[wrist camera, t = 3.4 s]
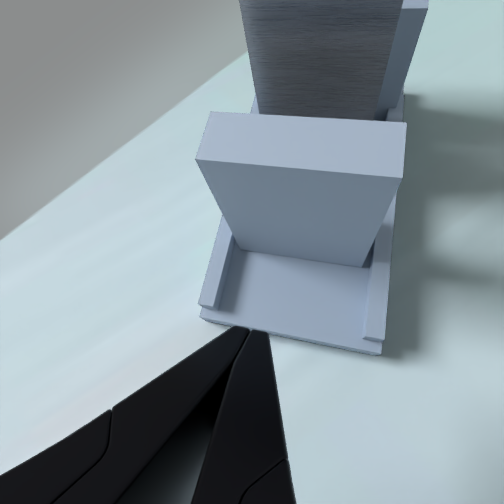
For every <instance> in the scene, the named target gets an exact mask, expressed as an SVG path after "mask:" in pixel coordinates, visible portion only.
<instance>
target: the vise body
mask: <svg viewBox="0 0 504 504" xmlns="http://www.w3.org/2000/svg"><path fill="white" fill-rule="evenodd" d="M428 1H429V0H403V4H402V8H401V12H400V16H399V20H398V24H397V28H396V32H395V36H394V40H393V44H392V48H391V52H390V56H389V60H388V64H387V68H386V72H385V76H384V80H383V84H382V88H381V92H380V96H379V100H378V104H377V108H376V112H375V116H374V120H373V121H388V122H402V120H403V108H404V96H405V95H403V89H404V82H405V79H406V76H407V72H408V69H409V66H410V63H411V60H412V57H413V54H414V51H415V47H416V44H417V41H418V38H419V35H420V32H421V29H422V26H423V23H424V19H425V16H426V13H427V10H428ZM250 114H259V109H258V103H257V98H256V94H255V98H254V101H253V105H252V109H251V112H250ZM396 194H397V191H396ZM396 194H395V196H394V198H393V200H392V202H391V204H390V207H389V209H388V211H387V213H386V215H385V217H384V220H383V222H382V224H381V226H380V228H379V230H378V233H377V235H376V237H375V239H374V241H373V243H372V246H371V248H370V250H369V252H368V254H367V256H366V259H365V261H364V263H363V265H362V267H361V268H360V267H353V266H346V265H340V264H333V263H326V262H320V261H313V260H307V259H300V258H293V257H287V256H280V255H273V254H267V253H260V252H253V251H247V250H240V248H239V246H238V244H237V242H236V240H235V238H234V236H233V234H232V232H231V230H230V228H229V226H228V224H227V222H226V220H225V218H224V216H223V214H222V218H221V221H220V225H219V229H218V232H217V236H216V240H215V243H214V247H213V250H212V254H211V258H210V261H209V265H208V269H207V272H206V276H205V280H204V283H203V287H202V290H201V294H200V298H199V301H198V304H199V305H200V306H202V309H201V313H200V316H199V317H200V318H202V319H204V320H205V321H209V322H214V323H219V324H223V325H228V326H241V327H246V328H249V329H250V330H253V329H256V330H261V331H266V332H268V334H272V335H277V336H282V337H287V338H292V339H297V340H302V341H307V342H311V343H316V344H321V345H326V346H331V347H336V348H341V349H346V350H351V351H355V352H360V353H365V354H370V355H375V356H377V355H379V354H381V351H382V341H383V340H385V328H386V315H387V303H388V291H389V279H390V267H391V255H392V242H393V230H394V218H395V206H396Z"/></svg>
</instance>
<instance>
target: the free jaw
mask: <svg viewBox="0 0 504 504" xmlns="http://www.w3.org/2000/svg"><path fill="white" fill-rule="evenodd" d="M406 128H407V123H405V122H388V121H370V120H352V119H335V118H317V117H299V116H282V115H264V114H246V113H229V112H210V115H209V118H208V121H207V124H206V127H205V130H204V133H203V136H202V139H201V143H200V146H199V149H198V152H197V155H196V158H195V160H196V162H197V164H198V166H199V168H200V170H201V172H202V174H203V176H204V178H205V180H206V182H207V184H208V186H209V188H210V190H211V192H212V194H213V196H214V198H215V200H216V202H217V204H218V206H219V208H220V210H221V212H222V214H223V216H224V218H225V220H226V222H227V224H228V226H229V228H230V230H231V232H232V234H233V236H234V238H235V240H236V242H237V244H238V246H239V248H240V250H247V251H253V252H260V253H267V254H273V255H280V256H287V257H293V258H300V259H307V260H313V261H320V262H326V263H333V264H340V265H346V266H353V267H360V268H361V267H362V265H363V263H364V261H365V259H366V256H367V254H368V252H369V250H370V248H371V246H372V243H373V241H374V239H375V237H376V235H377V233H378V230H379V228H380V226H381V224H382V222H383V220H384V217H385V215H386V213H387V211H388V209H389V207H390V204H391V202H392V200H393V198H394V196H395V194H396V191H397V189H398V187H399V185H400V183H401V181H402V178H403V167H404V154H405V141H406Z"/></svg>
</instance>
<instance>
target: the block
mask: <svg viewBox="0 0 504 504" xmlns="http://www.w3.org/2000/svg"><path fill="white" fill-rule="evenodd" d="M239 2H240V8H241V13H242V19H243V25H244V31H245V36H246V42H247V47H248V53H249V59H250V64H251V70H252V75H253V81H254V87H255V92H256V98H257V103H258V109H259V114H264V115H282V116H299V117H317V118H335V119H352V120H370V121H373V120H374V116H375V112H376V108H377V104H378V100H379V96H380V92H381V88H382V84H383V80H384V76H385V72H386V68H387V64H388V60H389V56H390V52H391V48H392V44H393V40H394V36H395V32H396V28H397V24H398V20H399V16H400V12H401V8H402V4H403V0H239Z"/></svg>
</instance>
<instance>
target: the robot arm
mask: <svg viewBox="0 0 504 504" xmlns="http://www.w3.org/2000/svg"><path fill="white" fill-rule="evenodd" d="M0 504H296V499H295V493H294V488H293V483H292V477H291V471H290V464H289V461H288V453H287V447H286V440H285V434H284V428H283V421H282V415H281V409H280V402H279V396H278V390H277V384H276V377H275V371H274V365H273V358H272V352H271V346H270V339H269V334H268V332H266V331H261V330H256V329H253V330H250V329H249V328H246V327H241V326H233V327H231V328H230V329H228V330H227V331H225V332H224V333H222V334H221V335H219V336H218V337H216V338H215V339H213V340H212V341H210V342H209V343H207V344H206V345H204V346H203V347H201V348H200V349H198V350H197V351H195V352H194V353H192V354H191V355H189V356H188V357H186V358H185V359H183V360H182V361H180V362H179V363H177V364H176V365H174V366H173V367H171V368H170V369H168V370H167V371H166V372H164V373H163V374H161V375H160V376H158V377H157V378H155V379H154V380H152V381H151V382H149V383H148V384H146V385H145V386H143V387H142V388H140V389H139V390H137V391H136V392H134V393H133V394H131V395H130V396H128V397H127V398H125V399H124V400H122V401H121V402H119V403H118V404H116V405H115V406H113V408H112V410H110V409H109V410H107V411H106V412H104V413H103V414H101V415H100V416H98V417H97V418H95V419H94V420H92V421H91V422H89V423H88V424H86V425H84V426H83V427H81V428H80V429H78V430H77V431H75V432H74V433H72V434H70V435H69V436H67V437H66V438H64V439H63V440H61V441H59V442H57V443H56V444H54V445H52V446H51V447H49V448H47V449H46V450H44V451H42V452H40V453H39V454H37V455H35V456H34V457H32V458H30V459H29V460H27V461H25V462H23V463H21V464H20V465H18V466H16V467H14V468H13V469H11V470H9V471H7V472H5V473H4V474H2V475H0Z"/></svg>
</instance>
